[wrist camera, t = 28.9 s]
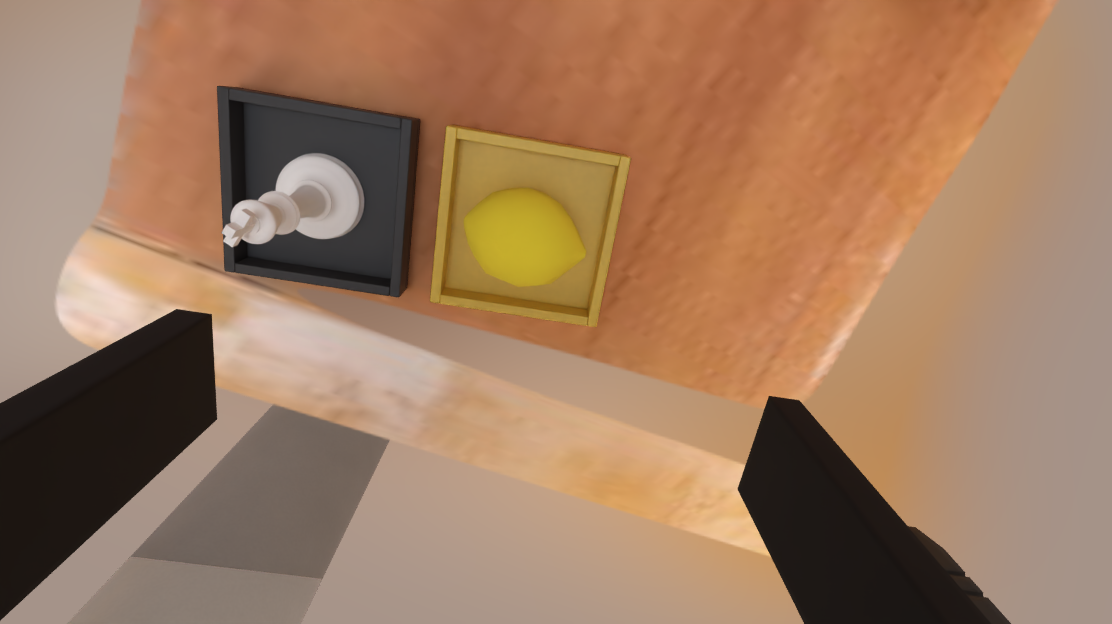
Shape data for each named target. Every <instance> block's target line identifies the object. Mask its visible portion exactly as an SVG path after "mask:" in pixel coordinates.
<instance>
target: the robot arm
mask: <svg viewBox="0 0 1112 624" xmlns="http://www.w3.org/2000/svg"><path fill="white" fill-rule="evenodd" d="M216 420H217V410H216V390H215V370H214V350H213V331H212V314H206V313H199V312H192V311H185V310H178V309H176V310H174V311H172V312H171V313H169V314H167V315H165V316H163V317H161V318H159V319H157V320H156V321H154V322H152V323H150V324H148V325H146V326H144V327H142V328H141V329H139V330H137V331H135V332H133V333H131V334H129V335H127V336H126V337H124V338H122V339H120V340H118V341H116V342H114V343H112V344H111V345H109V346H107V347H105V348H103V349H101V350H99V351H97V352H96V353H94V354H92V355H90V356H88V357H86V358H84V359H82V360H81V361H79V362H77V363H75V364H74V365H71V366H69V367H67V368H66V369H64V370H62V371H60V372H58V373H56V374H54V375H52V376H51V377H49V378H47V379H45V380H43V381H41V382H39V383H37V384H36V385H34V386H32V387H30V388H28V389H26V390H24V391H23V392H21V393H19V394H17V395H15V396H13V397H11V398H9V399H8V400H6V401H4V402H2V403H0V620H1V619H2V618H4V617H5V616H6V615H7V614H8V613H9V612H10V611H11V610H12V609H13V608H14V607H15V606H16V605H18V604H19V603H20V602H21V601H22V600H23V599H24V598H25V597H26V596H27V595H28V594H29V593H30V592H32V591H33V590H34V589H35V588H36V587H37V586H38V585H39V584H40V583H41V582H42V581H43V580H44V579H45V578H47V577H48V576H49V575H50V574H51V573H52V572H53V571H54V570H55V569H56V568H57V567H58V566H59V565H61V564H62V563H63V562H64V561H65V560H66V559H67V558H68V557H69V556H70V555H71V554H72V553H74V552H75V551H76V550H77V549H78V548H79V547H80V546H81V545H82V544H83V543H84V542H85V541H86V540H87V539H89V538H90V537H91V536H92V535H93V534H94V533H95V532H96V531H97V530H98V529H99V528H100V527H101V526H103V525H104V524H105V523H106V522H107V521H108V520H109V519H110V518H111V517H112V516H113V515H114V514H116V513H117V512H118V511H119V510H120V509H121V508H122V507H123V506H124V505H125V504H126V503H127V502H128V501H130V500H131V498H133V497H134V496H135V495H136V494H137V493H138V492H139V491H140V490H141V489H142V488H143V487H145V486H146V485H147V484H148V483H149V482H150V481H151V480H152V479H153V478H154V477H155V476H156V475H157V474H159V473H160V472H161V471H162V470H163V469H164V468H165V467H166V466H167V465H168V464H169V463H170V462H171V461H172V460H174V459H175V458H176V457H177V456H178V455H179V454H180V453H181V452H182V451H183V450H184V449H185V448H187V447H188V446H189V445H190V444H191V443H192V442H193V441H194V440H195V439H196V438H197V437H198V436H199V435H201V434H202V433H203V432H204V431H205V430H206V429H207V428H208V427H209V426H210V425H211V424H212V423H213V422H215V421H216ZM738 491H739V493H740V495H741V497H742V499H743V501H744V503H745V505H746V507H747V509H748V511H749V513H750V515H751V517H752V519H753V521H754V523H755V525H756V527H757V529H758V531H759V533H760V535H761V537H762V539H763V541H764V543H765V545H766V547H767V549H768V551H769V553H770V555H771V557H772V559H773V562H774V563H775V565H776V568H777V570H778V572H779V573H780V576H781V578H782V580H783V582H784V584H785V586H786V588H787V590H788V592H789V594H790V596H791V598H792V600H793V602H794V603H795V606H796V608H797V610H798V612H799V614H800V616H801V618H802V620H803V622H804V624H1011V623H1010V622H1009V621H1008V620H1007V619H1006V618H1005V616H1004V615H1003V614H1002V613H1001V612H1000V611H999V610H998V609H997V608H996V606H995V605H994V604H993V603H992V602H991V601H990V600H989V599H988V598H986V597H983V592H982V591H981V590H980V589H979V587H978V586H976V584H975V583H974V582H973V581H972V580H971V579H970V578H969V577H965V572H964V571H963V570H962V569H961V567H960V566H959V565H958V564H957V563H956V562H955V561H954V560H953V559H952V557H951V556H950V555H949V554H948V553H947V552H946V551H945V550H944V549H943V548H942V547H941V546H939V545H938V544H937V543H935V542H934V541H933V540H931V539H930V538H929V537H928V536H926V535H925V534H924V533H922V532H921V531H920V530H918V529H917V528H916V527H909V526H907V525H906V524H905V523H904V521H903V520H902V519H901V518H900V517H899V516H898V515H897V513H896V512H895V511H894V510H893V509H892V508H891V507H890V505H889V504H888V503H887V502H886V501H885V499H884V498H883V497H882V496H881V495H880V494H879V492H878V491H877V490H876V489H875V488H874V487H873V485H872V484H871V483H870V482H869V481H868V480H867V478H866V477H865V476H864V475H863V474H862V473H861V472H860V470H859V469H858V468H857V467H856V466H855V465H854V463H853V462H852V461H851V460H850V459H849V458H848V457H847V455H846V454H845V453H844V452H843V451H842V449H841V448H840V447H839V446H838V445H837V444H836V443H835V441H833V439H832V438H831V437H830V435H829V434H828V433H827V432H826V431H825V430H824V429H823V427H822V426H821V425H820V424H819V423H818V422H817V420H816V419H815V418H814V417H813V416H812V415H811V413H810V412H809V411H808V410H807V409H806V408H805V406H804V405H803V404H802V403H801V402H800V401H799V400H793V399H786V398H780V397H773V396H769V398H768V401H767V404H766V406H765V409H764V412H763V416H762V418H761V421H760V424H759V427H758V430H757V433H756V436H755V439H754V442H753V445H752V448H751V451H750V454H749V457H748V460H747V463H746V466H745V469H744V472H743V475H742V478H741V481H740V483H739V486H738Z"/></svg>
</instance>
